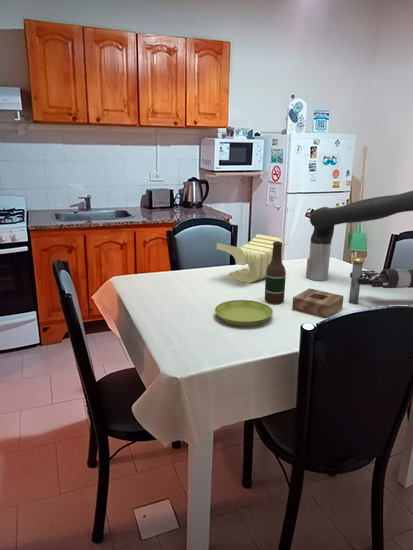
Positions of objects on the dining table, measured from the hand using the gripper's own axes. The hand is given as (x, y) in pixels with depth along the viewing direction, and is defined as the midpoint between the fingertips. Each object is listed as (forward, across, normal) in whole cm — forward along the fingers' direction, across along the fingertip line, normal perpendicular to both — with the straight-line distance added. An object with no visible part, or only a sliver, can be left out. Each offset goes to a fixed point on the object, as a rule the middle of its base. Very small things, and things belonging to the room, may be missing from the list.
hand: (354, 278), depth 162 cm
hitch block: (+16, +7, +10) cm, 20 cm away
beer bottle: (+31, -2, +10) cm, 32 cm away
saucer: (+45, +15, +11) cm, 49 cm away
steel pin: (-1, 0, +10) cm, 10 cm away
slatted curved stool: (+36, -34, +10) cm, 51 cm away
